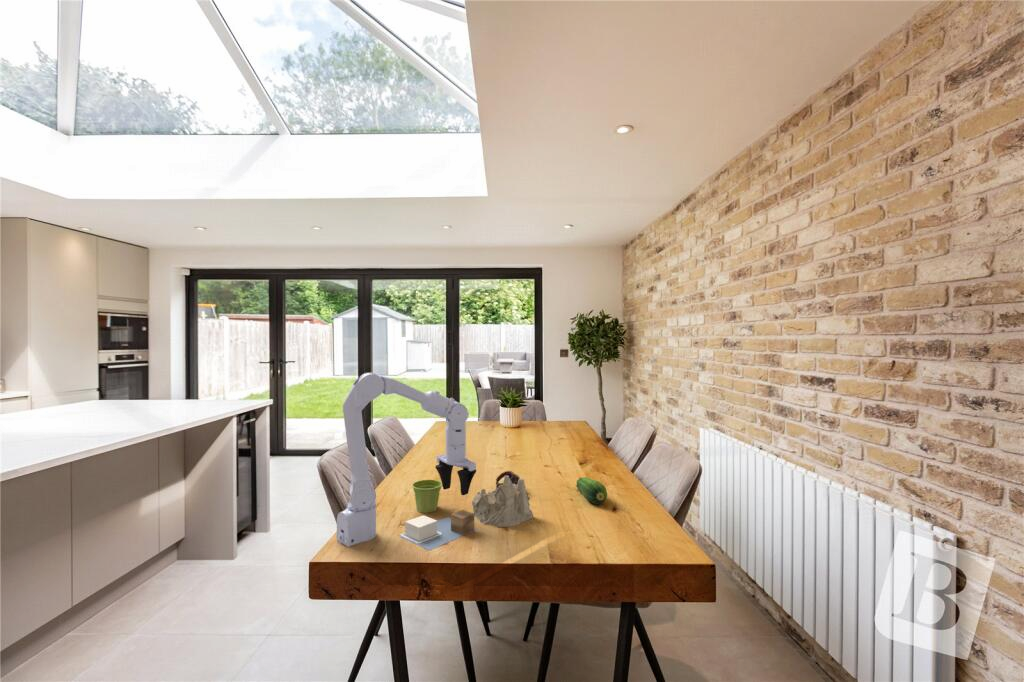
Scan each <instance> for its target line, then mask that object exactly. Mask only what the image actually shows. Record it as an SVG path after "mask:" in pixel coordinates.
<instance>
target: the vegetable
mask: <svg viewBox="0 0 1024 682" xmlns="http://www.w3.org/2000/svg"><path fill="white" fill-rule="evenodd" d="M575 487H576V488H577V490H578V491H579V492H580V493H581V494H582V495H583V497H584V498H585V500H587V501H588V502H589V503H591V504H594V505H601V504H603V502H606V499H607V497H608V491H607V488H606V486H605V485H604V484H603V483H602V482H600V481H597V480H596V479H593V478H589V477H587V476H586V477H585V476H583V477H579V479H578V480H576V485H575Z"/></svg>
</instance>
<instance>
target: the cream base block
mask: <svg viewBox="0 0 1024 682" xmlns="http://www.w3.org/2000/svg"><path fill="white" fill-rule="evenodd" d="M437 521H438V520H436V519H434V518H432V517H428V516H426V515H424V514H423V515H421V516H416V517H414V518H412V519H411V518H410V519H409V520H406V521H405V522H404V524H405V525H404V526H405V527H404V528H405V529H404V533H405V535H407V536H409V537H411V538H413V539H415V540H417V541H421V540H424V539H426V538H428V537H431V536H433V535H436V534H437Z"/></svg>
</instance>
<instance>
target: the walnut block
mask: <svg viewBox="0 0 1024 682" xmlns="http://www.w3.org/2000/svg"><path fill="white" fill-rule="evenodd" d="M450 518H451V531H453V532H455V533H457V534H460V535H464V534H466V535H468V534H470V533H469V532H471V531H473V532H474V528H475V516H474V512H471V511H468V510H465V509H461V510H459V511H456V512H454V513H451V514H450ZM467 533H468V534H467ZM471 533H472V532H471ZM464 536H465V535H464Z"/></svg>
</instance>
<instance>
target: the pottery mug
mask: <svg viewBox="0 0 1024 682" xmlns="http://www.w3.org/2000/svg"><path fill="white" fill-rule="evenodd" d="M505 475H506V476H509V479H510V481H512V484H515V485H518V480H519V478H521V477H520V476H519V475H518V474H516V473H514V471H512V470H507V471H503V472H502V473H500V474H499V475H498V476H496V479H495V489H496V488H497V489H498V488H499V486H500V485H503V482H500V481H501V480H502V479H504V478H505Z"/></svg>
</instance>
